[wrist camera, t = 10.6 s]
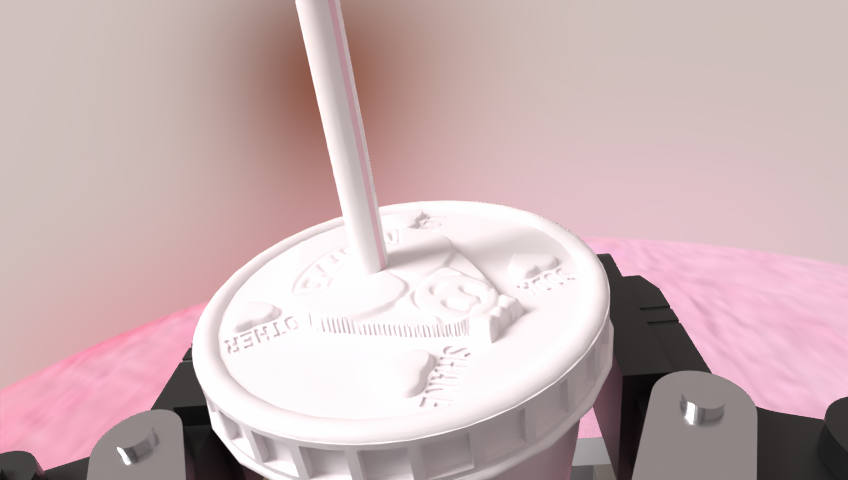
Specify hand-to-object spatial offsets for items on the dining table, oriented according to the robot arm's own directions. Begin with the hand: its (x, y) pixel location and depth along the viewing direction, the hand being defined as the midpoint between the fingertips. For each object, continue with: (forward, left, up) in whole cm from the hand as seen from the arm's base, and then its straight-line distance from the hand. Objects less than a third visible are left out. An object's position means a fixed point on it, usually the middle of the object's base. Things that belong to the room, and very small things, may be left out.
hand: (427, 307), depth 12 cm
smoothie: (0, -3, -8) cm, 8 cm away
